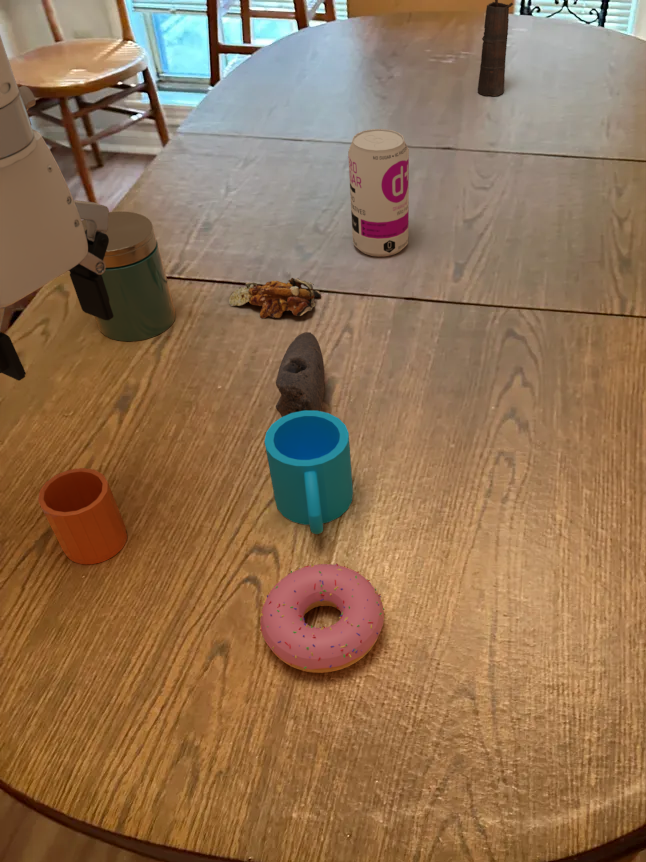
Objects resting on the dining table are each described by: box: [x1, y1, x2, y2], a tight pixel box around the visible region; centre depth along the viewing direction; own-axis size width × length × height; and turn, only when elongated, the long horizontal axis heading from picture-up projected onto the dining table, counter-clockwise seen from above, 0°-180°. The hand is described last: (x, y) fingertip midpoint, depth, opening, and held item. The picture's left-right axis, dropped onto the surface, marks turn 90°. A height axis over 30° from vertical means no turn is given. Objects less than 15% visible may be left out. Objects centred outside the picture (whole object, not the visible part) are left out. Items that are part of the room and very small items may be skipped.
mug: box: [264, 410, 354, 535], centre depth 78 cm, size 12×8×8 cm
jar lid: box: [81, 211, 157, 268], centre depth 95 cm, size 10×10×2 cm
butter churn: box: [477, 0, 514, 97], centre depth 146 cm, size 9×10×28 cm
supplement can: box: [347, 128, 410, 258], centre depth 111 cm, size 8×8×15 cm
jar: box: [94, 239, 176, 342], centre depth 99 cm, size 10×10×12 cm
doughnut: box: [259, 562, 385, 674], centre depth 69 cm, size 11×11×4 cm
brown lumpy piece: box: [228, 277, 322, 319], centre depth 105 cm, size 7×12×4 cm, turn 82°
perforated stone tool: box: [275, 331, 325, 417], centre depth 90 cm, size 15×5×7 cm, turn 178°
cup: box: [37, 467, 128, 565], centre depth 75 cm, size 6×6×7 cm
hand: (56, 343), depth 66 cm, fingers open, 9 cm apart
